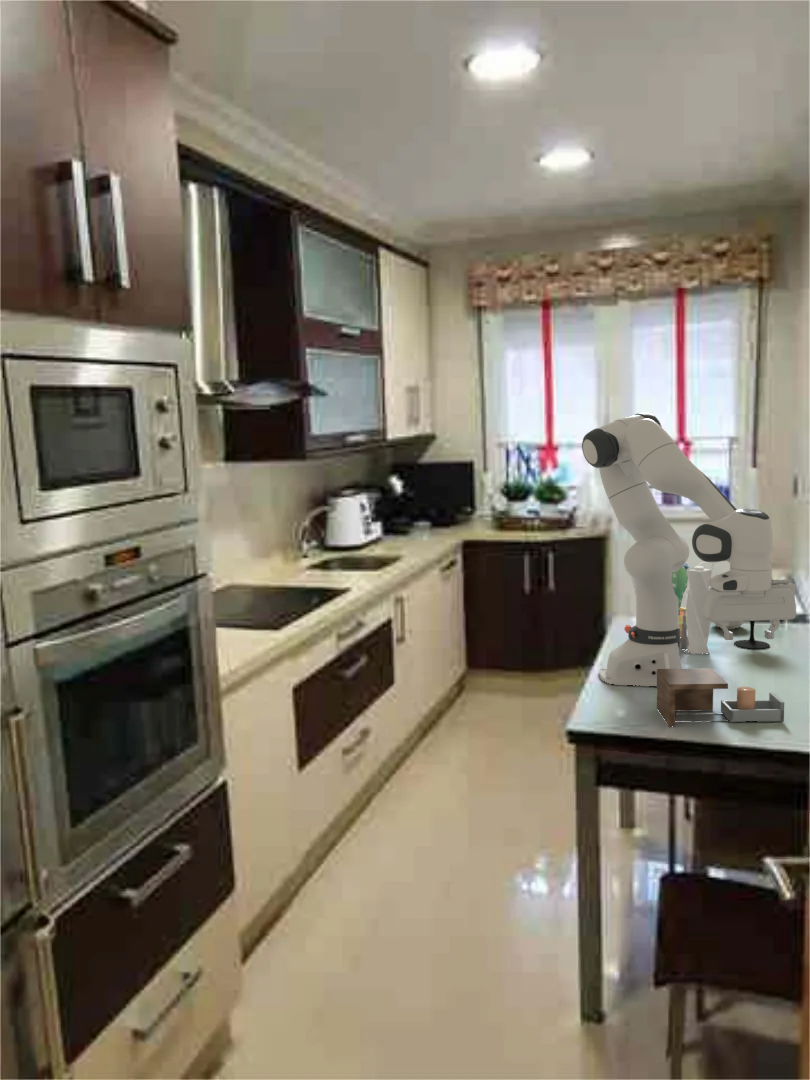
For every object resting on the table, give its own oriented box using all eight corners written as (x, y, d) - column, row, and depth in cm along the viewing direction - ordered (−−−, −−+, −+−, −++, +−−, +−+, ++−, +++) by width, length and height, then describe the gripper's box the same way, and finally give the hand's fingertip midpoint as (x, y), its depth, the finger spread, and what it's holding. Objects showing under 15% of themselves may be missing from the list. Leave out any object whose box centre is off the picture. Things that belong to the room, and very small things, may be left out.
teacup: (721, 622, 284) (721, 599, 283) (751, 627, 276) (752, 603, 275) (699, 629, 275) (699, 606, 274) (730, 634, 267) (730, 610, 266)
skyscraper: (708, 648, 253) (709, 558, 249) (715, 656, 245) (717, 563, 241) (680, 649, 253) (681, 559, 250) (686, 656, 245) (687, 563, 242)
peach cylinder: (739, 717, 191) (740, 692, 190) (734, 711, 195) (734, 686, 194) (757, 717, 191) (758, 692, 190) (751, 711, 195) (752, 686, 194)
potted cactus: (697, 642, 260) (698, 564, 256) (646, 640, 264) (647, 563, 260) (694, 630, 274) (695, 556, 271) (646, 628, 278) (646, 555, 275)
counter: (669, 727, 188) (669, 684, 187) (656, 709, 200) (657, 668, 199) (788, 726, 187) (789, 682, 185) (768, 708, 198) (769, 667, 197)
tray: (730, 721, 190) (730, 702, 189) (720, 711, 197) (721, 693, 196) (783, 721, 189) (784, 702, 188) (772, 710, 196) (772, 692, 195)
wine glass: (775, 649, 248) (777, 584, 246) (741, 650, 249) (742, 585, 246) (761, 640, 259) (763, 578, 256) (728, 641, 259) (729, 579, 256)
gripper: (789, 576, 191) (787, 634, 193) (701, 578, 192) (700, 636, 194) (802, 581, 185) (800, 641, 187) (711, 584, 185) (710, 643, 187)
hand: (748, 638), depth 190 cm, fingers open, 8 cm apart
